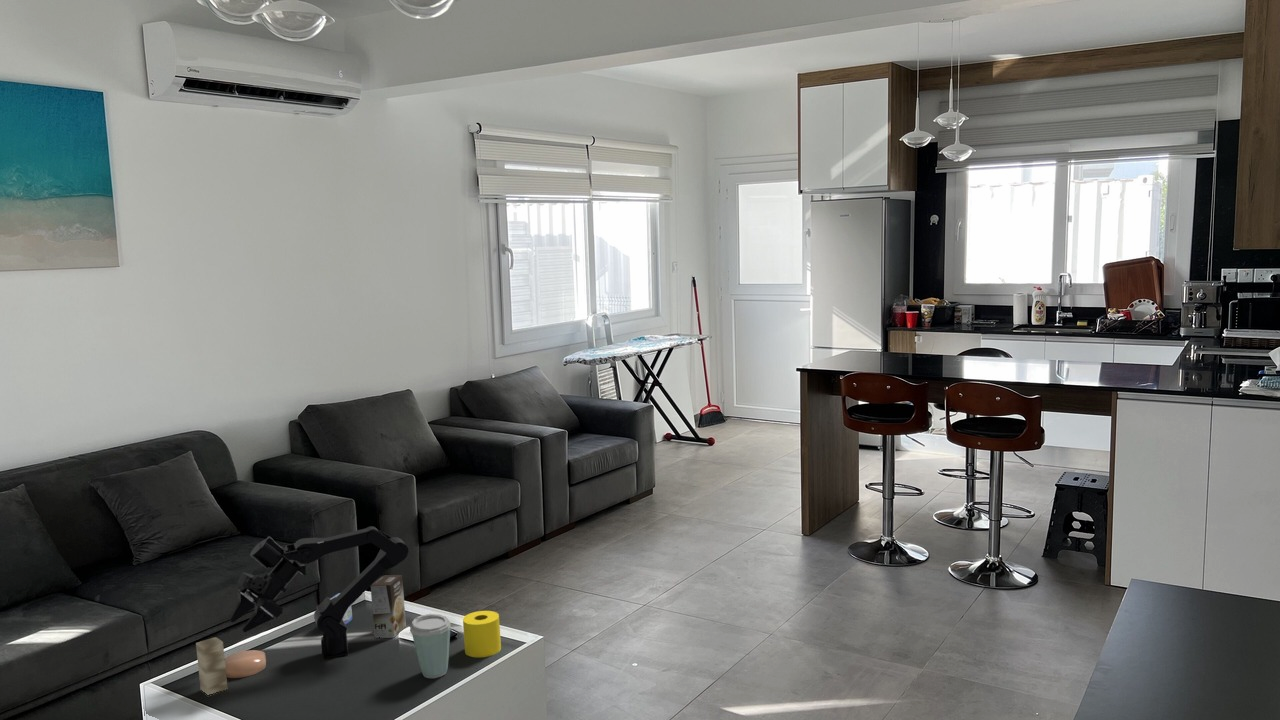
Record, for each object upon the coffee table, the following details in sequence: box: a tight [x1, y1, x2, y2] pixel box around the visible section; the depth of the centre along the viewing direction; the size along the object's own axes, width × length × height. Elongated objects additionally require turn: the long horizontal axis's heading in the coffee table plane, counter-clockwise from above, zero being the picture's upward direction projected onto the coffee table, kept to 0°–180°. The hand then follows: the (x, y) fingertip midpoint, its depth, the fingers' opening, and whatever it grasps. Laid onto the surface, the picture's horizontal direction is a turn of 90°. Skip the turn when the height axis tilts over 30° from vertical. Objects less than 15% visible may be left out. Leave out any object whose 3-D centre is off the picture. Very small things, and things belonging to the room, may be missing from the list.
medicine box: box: [330, 592, 353, 626], centre depth 288 cm, size 8×4×9 cm, turn 168°
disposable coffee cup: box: [409, 613, 452, 679], centre depth 250 cm, size 11×11×15 cm
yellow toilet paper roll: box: [462, 610, 502, 658], centre depth 265 cm, size 10×10×9 cm
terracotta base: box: [225, 649, 267, 679], centre depth 259 cm, size 11×11×3 cm
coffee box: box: [370, 574, 407, 639], centre depth 280 cm, size 9×6×16 cm
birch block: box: [195, 636, 228, 696], centre depth 247 cm, size 5×5×13 cm
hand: (237, 626), depth 252 cm, fingers open, 9 cm apart
